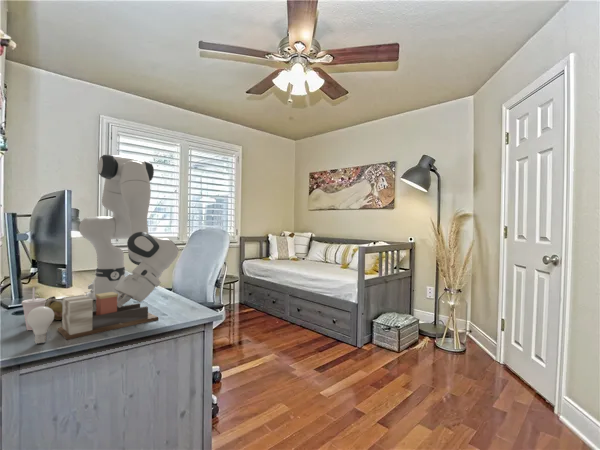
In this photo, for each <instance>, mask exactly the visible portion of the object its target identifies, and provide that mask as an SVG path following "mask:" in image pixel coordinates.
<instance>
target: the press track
mask: <svg viewBox="0 0 600 450" xmlns="http://www.w3.org/2000/svg"><path fill="white" fill-rule="evenodd" d="M62 299H63V305H62V319H61V320H62V321H61V322H62V324H61V325H62V326H59V327H57V332H59V333H60V334H61V336H62V337H63V338H64V339H65V340H66V341H68V340H73V339H76V338H81V337H86V336H89V335H94V334H99V333H104V332H108V331H114V330H118V329H123V328H126V327H132V326H136V325H141V324H145V323H149V322H153V321H158V320H159V316H158V315H155V314H152V313H151V312H149V307H148V306H146V305H145V306H141V303H140V302H137V303H131V304H124V305H122V307H120V308H119V307H117V312H113V313H108V314H102V315H97V316H96V310H94V309H93V302H94V300H92V299H91V298H89V297H87V296H86V294H80V295H73V296H64V297H62Z"/></svg>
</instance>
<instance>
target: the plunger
mask: <svg viewBox="0 0 600 450" xmlns="http://www.w3.org/2000/svg"><path fill="white" fill-rule="evenodd" d="M95 296H96V300H95V301H96V302H95V305H96V306H95V311H96V316H97V315H102V314H108V313H113V312H117V296H118V294H117V293H114V292H107V293H100V294H95Z"/></svg>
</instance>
